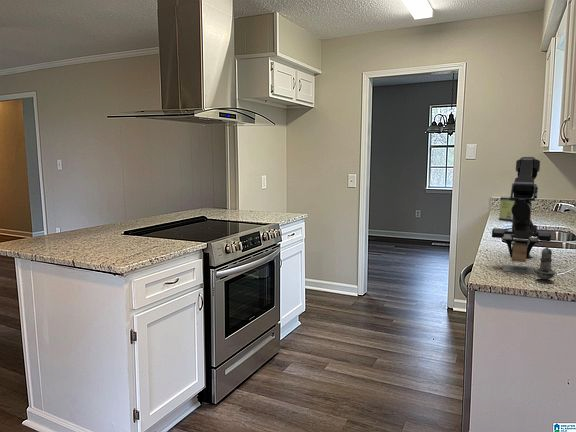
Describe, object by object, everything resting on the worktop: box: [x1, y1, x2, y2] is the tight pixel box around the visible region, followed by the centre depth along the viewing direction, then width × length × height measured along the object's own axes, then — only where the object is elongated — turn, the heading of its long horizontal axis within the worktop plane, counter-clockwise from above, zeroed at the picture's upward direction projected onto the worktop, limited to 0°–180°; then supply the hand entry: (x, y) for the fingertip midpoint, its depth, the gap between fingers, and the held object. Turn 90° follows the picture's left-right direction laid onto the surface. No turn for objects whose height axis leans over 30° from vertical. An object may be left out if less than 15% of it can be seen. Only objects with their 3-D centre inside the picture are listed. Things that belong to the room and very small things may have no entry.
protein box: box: [498, 196, 515, 223], centre depth 292 cm, size 10×16×16 cm
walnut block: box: [510, 242, 527, 263], centre depth 162 cm, size 4×4×6 cm
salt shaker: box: [534, 245, 556, 285], centre depth 146 cm, size 6×6×12 cm
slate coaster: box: [501, 264, 536, 275], centre depth 163 cm, size 10×10×1 cm
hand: (518, 257), depth 162 cm, fingers closed on walnut block, 4 cm apart
